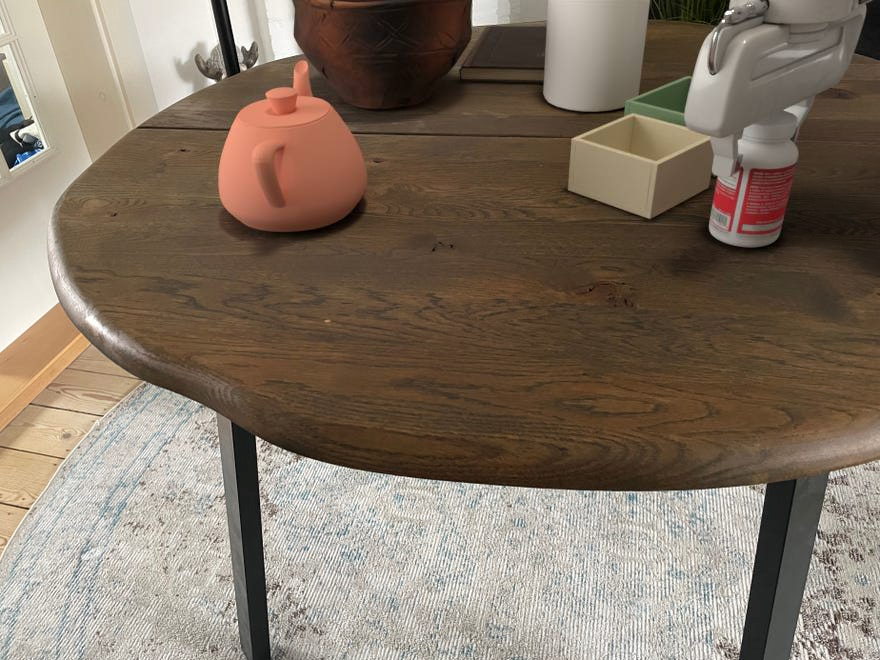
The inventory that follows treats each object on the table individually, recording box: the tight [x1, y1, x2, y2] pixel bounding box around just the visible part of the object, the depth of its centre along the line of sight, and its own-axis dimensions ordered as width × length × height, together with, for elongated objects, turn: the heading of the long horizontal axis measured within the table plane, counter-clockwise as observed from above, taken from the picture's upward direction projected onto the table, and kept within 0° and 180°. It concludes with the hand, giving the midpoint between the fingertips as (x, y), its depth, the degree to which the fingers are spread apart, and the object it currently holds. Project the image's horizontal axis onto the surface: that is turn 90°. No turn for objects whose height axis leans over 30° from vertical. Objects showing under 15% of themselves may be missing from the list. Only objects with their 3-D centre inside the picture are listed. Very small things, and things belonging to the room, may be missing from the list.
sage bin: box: [623, 75, 717, 178], centre depth 91 cm, size 12×12×6 cm
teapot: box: [217, 59, 369, 233], centre depth 81 cm, size 22×15×12 cm
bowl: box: [291, 0, 473, 110], centre depth 109 cm, size 25×25×15 cm
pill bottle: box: [708, 110, 799, 248], centre depth 72 cm, size 6×6×11 cm
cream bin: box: [567, 113, 714, 220], centre depth 82 cm, size 10×10×6 cm
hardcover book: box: [458, 25, 547, 85], centre depth 124 cm, size 16×23×2 cm
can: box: [542, 0, 651, 113], centre depth 103 cm, size 12×12×20 cm
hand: (754, 159), depth 71 cm, fingers open, 8 cm apart
